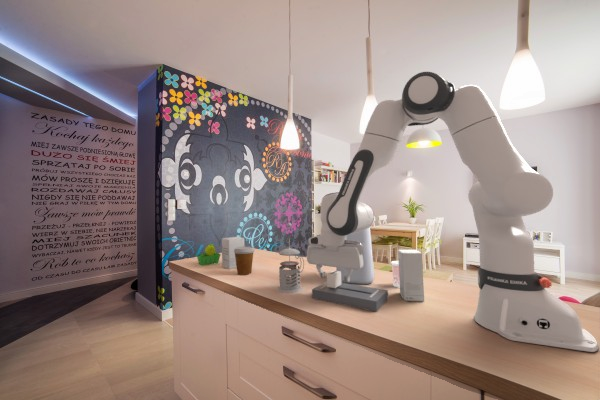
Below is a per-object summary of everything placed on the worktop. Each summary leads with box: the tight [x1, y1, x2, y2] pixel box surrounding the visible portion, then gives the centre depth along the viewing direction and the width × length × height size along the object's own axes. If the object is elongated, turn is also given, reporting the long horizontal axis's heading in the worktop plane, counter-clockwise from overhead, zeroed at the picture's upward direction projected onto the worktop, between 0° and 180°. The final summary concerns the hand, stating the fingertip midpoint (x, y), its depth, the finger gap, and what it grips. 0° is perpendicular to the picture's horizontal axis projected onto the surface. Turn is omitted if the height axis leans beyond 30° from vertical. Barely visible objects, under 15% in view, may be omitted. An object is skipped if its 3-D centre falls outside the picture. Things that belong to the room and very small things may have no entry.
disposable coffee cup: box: [234, 245, 255, 276], centre depth 124 cm, size 10×10×12 cm
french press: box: [276, 222, 305, 294], centre depth 101 cm, size 10×12×25 cm
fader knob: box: [326, 270, 342, 288], centre depth 92 cm, size 3×5×5 cm, turn 147°
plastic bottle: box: [335, 226, 375, 285], centre depth 112 cm, size 15×15×28 cm
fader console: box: [311, 280, 389, 313], centre depth 89 cm, size 22×12×3 cm, turn 57°
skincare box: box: [397, 249, 425, 302], centre depth 89 cm, size 8×7×16 cm
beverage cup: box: [390, 248, 401, 289], centre depth 102 cm, size 6×6×14 cm
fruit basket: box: [196, 243, 222, 266], centre depth 146 cm, size 11×9×11 cm
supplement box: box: [221, 236, 246, 270], centre depth 138 cm, size 9×9×15 cm
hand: (334, 279), depth 92 cm, fingers open, 8 cm apart
